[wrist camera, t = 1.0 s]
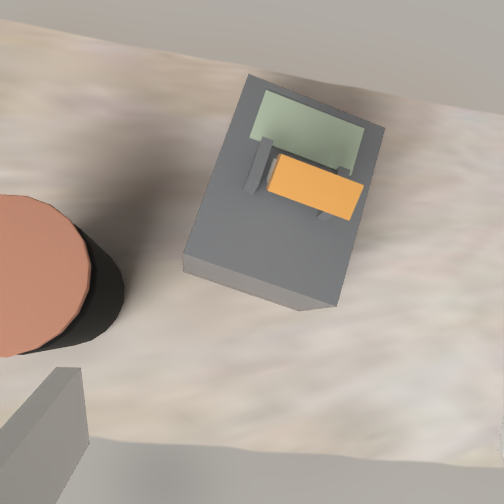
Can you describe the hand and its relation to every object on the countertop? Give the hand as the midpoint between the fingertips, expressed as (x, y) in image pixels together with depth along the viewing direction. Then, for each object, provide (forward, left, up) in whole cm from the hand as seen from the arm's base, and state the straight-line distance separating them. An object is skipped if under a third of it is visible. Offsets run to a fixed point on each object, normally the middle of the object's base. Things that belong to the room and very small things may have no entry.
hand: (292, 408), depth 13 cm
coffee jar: (-16, +1, -34) cm, 37 cm away
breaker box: (+1, +16, -33) cm, 37 cm away
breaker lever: (+1, +17, -21) cm, 26 cm away
